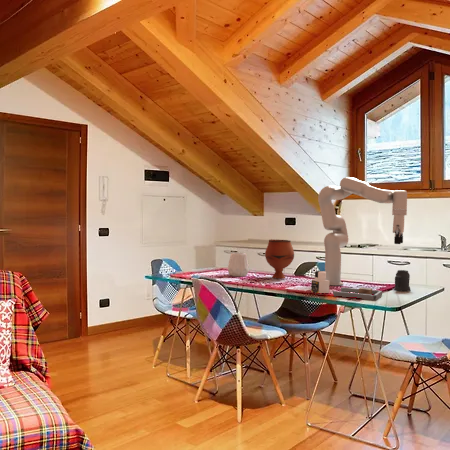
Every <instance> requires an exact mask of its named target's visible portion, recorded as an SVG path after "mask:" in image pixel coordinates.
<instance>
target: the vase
mask: <svg viewBox="0 0 450 450" xmlns="http://www.w3.org/2000/svg"><path fill="white" fill-rule="evenodd" d="M227 269H228V275H229V276H231V277H240V278H241V277H246V276H247V275H248V274H249V269H250V265H249V261H248V255H247V253H246V252H231V253H230V258H229V261H228V264H227Z"/></svg>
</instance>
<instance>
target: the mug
mask: <svg viewBox="0 0 450 450" xmlns="http://www.w3.org/2000/svg"><path fill="white" fill-rule="evenodd" d="M410 278H411V275H410V273H409V271H408V270H405V269H403V270H402V269H398V270H397V271H396V273H395V277H394V288H393V290H394V291H396V292H404V293H405V292H408V293H409V292H411V287H410V286H411V285H410V280H411V279H410Z"/></svg>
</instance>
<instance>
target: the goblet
mask: <svg viewBox="0 0 450 450" xmlns="http://www.w3.org/2000/svg"><path fill="white" fill-rule="evenodd" d="M267 243H268V244H267V247H266V249H265V253H264V257H265V261H266V262H267V263H268V265H269V266H270V267H272V268H273V270H274V271H275V272H274V273H273V275H272V276H271V278H272V279H282V280H283V279H286V276H285V273H283V271H284V269H285V268H287V267H289V266H290V265H291V263H292V262H293V261H294V258H295V251H294V248H293V246H292V243H291V240H289V239H275V238H274V239H272V238H271V239H268V242H267Z"/></svg>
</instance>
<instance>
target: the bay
mask: <svg viewBox="0 0 450 450" xmlns="http://www.w3.org/2000/svg"><path fill="white" fill-rule="evenodd" d="M348 292H355V293H348ZM358 293H359V288H355V287H353V288H352V287H343V286H342V287H340V291H336V290H334V291H333V292H332V296H333V295H334V296H333V297H336V296H342V297H341V298H346V297H357V298H362V299H361V300H365V299H367V301H377V300H378V299H380V298H381V297H382V296H383V291H382V290H377V289H376V290H374V289H372V294H374V295H368V294H358Z"/></svg>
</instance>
